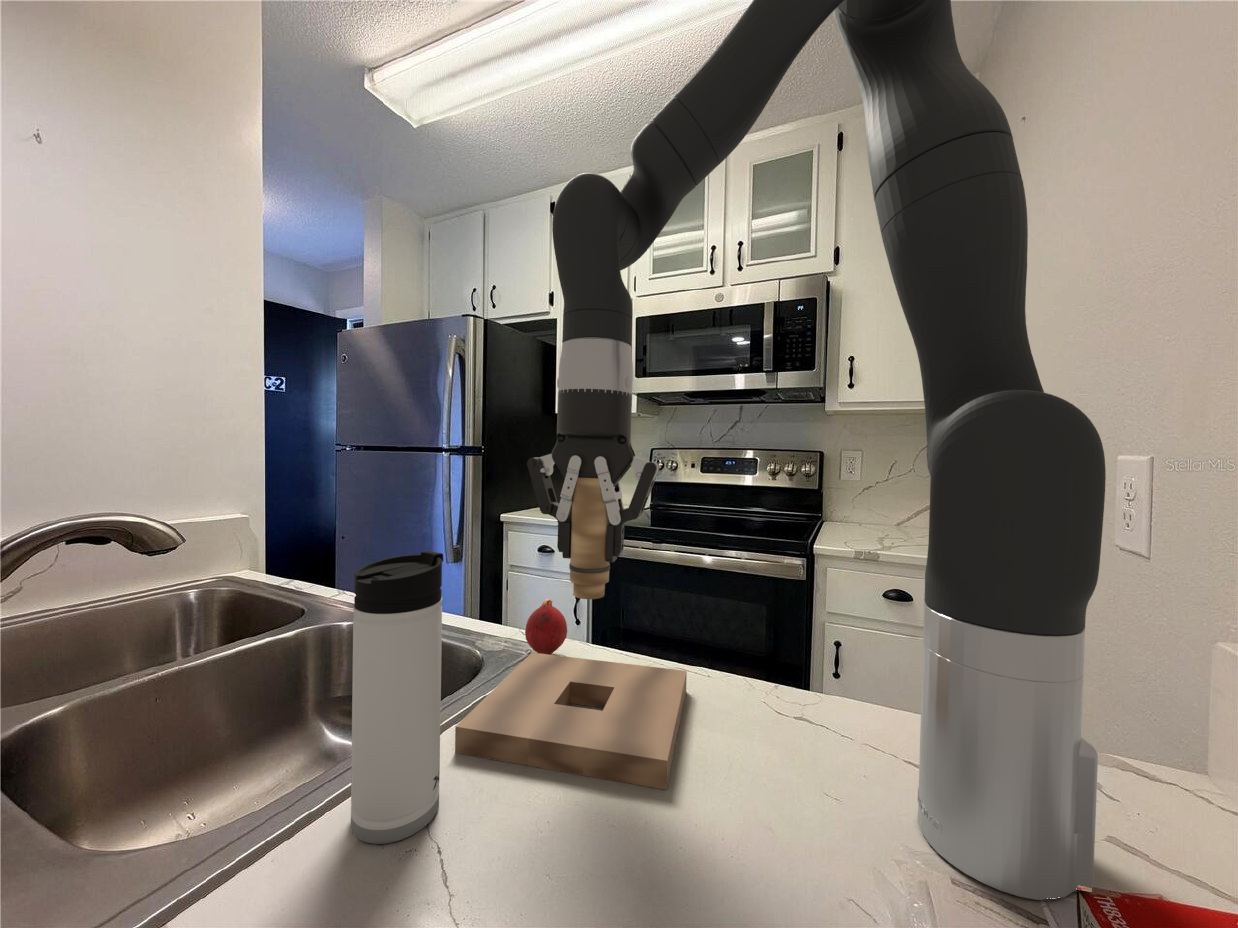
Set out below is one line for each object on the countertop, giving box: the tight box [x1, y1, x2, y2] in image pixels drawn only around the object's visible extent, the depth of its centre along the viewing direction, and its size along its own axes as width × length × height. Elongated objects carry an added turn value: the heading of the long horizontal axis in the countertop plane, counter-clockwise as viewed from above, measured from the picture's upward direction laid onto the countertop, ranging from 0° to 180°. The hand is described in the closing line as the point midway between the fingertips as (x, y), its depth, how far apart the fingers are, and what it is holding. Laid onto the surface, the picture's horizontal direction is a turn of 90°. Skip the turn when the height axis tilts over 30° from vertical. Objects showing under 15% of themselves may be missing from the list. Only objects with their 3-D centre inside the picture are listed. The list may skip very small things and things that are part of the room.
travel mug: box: [350, 550, 444, 845], centre depth 38 cm, size 6×7×20 cm
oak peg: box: [568, 478, 611, 600], centre depth 50 cm, size 4×4×12 cm
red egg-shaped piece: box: [524, 598, 568, 655], centre depth 68 cm, size 6×6×8 cm
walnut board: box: [454, 652, 688, 791], centre depth 53 cm, size 20×18×2 cm
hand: (589, 557), depth 50 cm, fingers closed on oak peg, 4 cm apart
